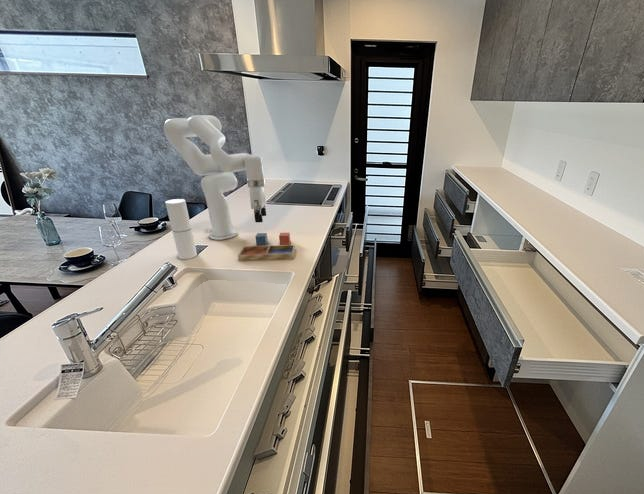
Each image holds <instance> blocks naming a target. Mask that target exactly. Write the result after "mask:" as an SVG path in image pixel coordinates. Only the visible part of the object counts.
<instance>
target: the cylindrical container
mask: <svg viewBox="0 0 644 494" xmlns="http://www.w3.org/2000/svg"><path fill="white" fill-rule="evenodd" d="M164 203H165V208H166V211H167V215H168V219H169V220H168V221H169V223H170V227H171V231H172V235H173V239H174V242H175V243H174V244H175V247H176V252H177V256H178V259H179V260H189V259H192V258H193V259H194V258H195V257H196V256H197V255H198V252H197V247H196V243H195V239H194V234H193V229H192V224H191V220H190V216H189V211H188V207H187V206H188V205H187V202H186V199H184V198H173V199H168V200H165V202H164Z"/></svg>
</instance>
